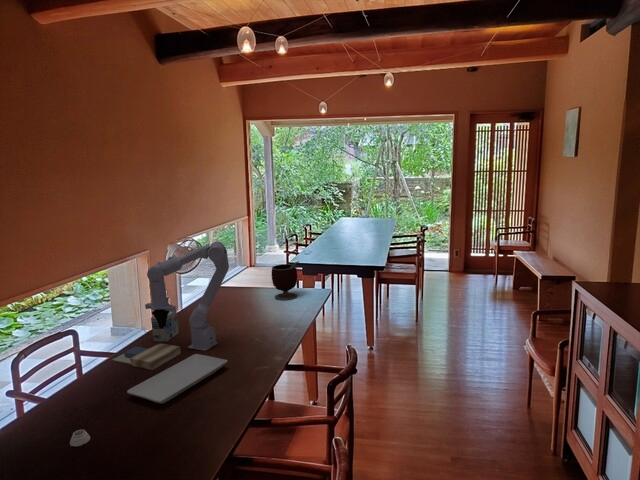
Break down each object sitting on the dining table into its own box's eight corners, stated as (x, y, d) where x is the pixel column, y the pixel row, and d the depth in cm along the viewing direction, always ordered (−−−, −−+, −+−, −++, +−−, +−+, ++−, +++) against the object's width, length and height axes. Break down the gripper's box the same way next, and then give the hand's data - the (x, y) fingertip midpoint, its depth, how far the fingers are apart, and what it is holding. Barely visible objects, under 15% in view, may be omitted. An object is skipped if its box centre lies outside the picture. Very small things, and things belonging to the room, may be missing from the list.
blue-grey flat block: (151, 353, 183) (150, 348, 182) (139, 359, 177) (139, 355, 177) (136, 351, 186) (136, 346, 186) (124, 357, 181) (124, 352, 181)
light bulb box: (167, 342, 195) (164, 318, 193) (153, 341, 196) (150, 317, 194) (179, 332, 205) (176, 309, 203) (166, 332, 206) (163, 309, 205)
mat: (157, 350, 186) (157, 350, 186) (132, 364, 174) (132, 363, 174) (137, 347, 191) (137, 346, 191) (111, 360, 179) (111, 359, 179)
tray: (126, 400, 148) (124, 390, 148) (196, 360, 175) (195, 352, 174) (161, 412, 140) (160, 401, 139) (230, 369, 166) (229, 360, 166)
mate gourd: (270, 301, 243) (267, 264, 240) (277, 293, 257) (274, 258, 253) (298, 301, 241) (296, 264, 237) (303, 293, 254) (301, 258, 251)
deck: (180, 353, 182) (179, 346, 181) (152, 370, 169) (151, 362, 168) (160, 350, 187) (159, 343, 186) (131, 365, 173) (130, 358, 173)
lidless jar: (85, 447, 124) (93, 436, 129) (83, 437, 123) (92, 426, 128) (66, 448, 124) (75, 437, 129) (65, 438, 123) (74, 428, 128)
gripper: (137, 296, 182) (142, 328, 184) (165, 299, 176) (169, 332, 178) (151, 291, 188) (155, 322, 191) (177, 293, 182) (181, 326, 184)
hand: (162, 326), depth 185 cm, fingers closed
